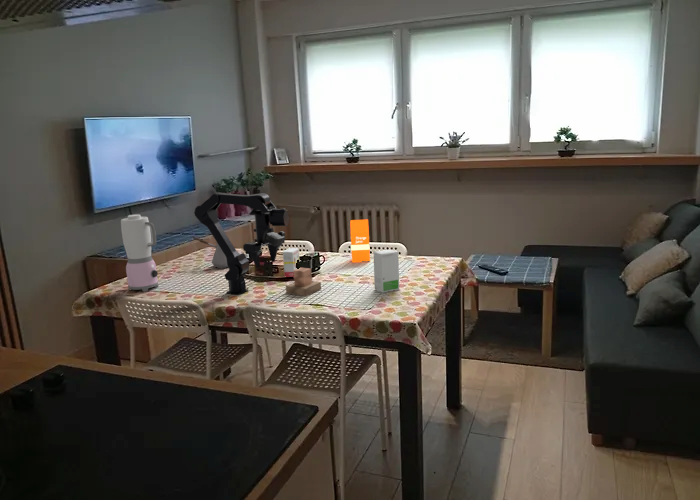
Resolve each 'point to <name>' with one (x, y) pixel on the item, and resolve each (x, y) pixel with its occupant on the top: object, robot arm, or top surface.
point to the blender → (139, 252)
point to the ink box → (290, 261)
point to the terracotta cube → (302, 276)
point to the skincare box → (386, 270)
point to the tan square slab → (303, 288)
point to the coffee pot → (216, 255)
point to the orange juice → (360, 240)
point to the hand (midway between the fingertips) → (265, 264)
